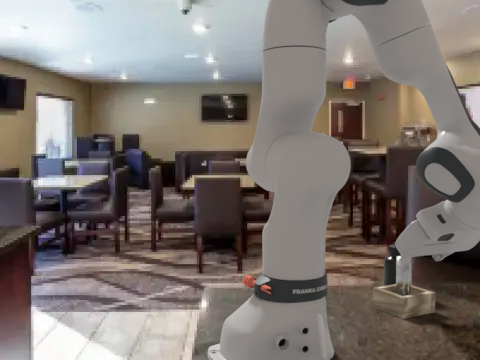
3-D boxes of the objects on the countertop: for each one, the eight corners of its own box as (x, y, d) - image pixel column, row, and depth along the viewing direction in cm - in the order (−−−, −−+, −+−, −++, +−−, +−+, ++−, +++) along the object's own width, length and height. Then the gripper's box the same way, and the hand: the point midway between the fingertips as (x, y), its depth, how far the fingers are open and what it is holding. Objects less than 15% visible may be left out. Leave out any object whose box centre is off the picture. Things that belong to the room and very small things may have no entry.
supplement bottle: (407, 299, 125) (408, 249, 124) (379, 294, 129) (380, 247, 128) (415, 292, 131) (415, 245, 130) (388, 288, 134) (388, 242, 134)
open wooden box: (402, 318, 110) (403, 298, 110) (372, 307, 119) (373, 287, 118) (434, 312, 114) (435, 292, 114) (403, 301, 123) (403, 282, 123)
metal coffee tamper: (403, 310, 113) (403, 260, 112) (386, 304, 117) (387, 256, 117) (419, 306, 115) (420, 257, 115) (403, 301, 120) (404, 254, 119)
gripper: (485, 205, 109) (446, 244, 118) (413, 210, 99) (377, 252, 109) (503, 229, 105) (462, 268, 114) (430, 237, 96) (391, 278, 105)
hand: (420, 260), depth 111 cm, fingers open, 8 cm apart
